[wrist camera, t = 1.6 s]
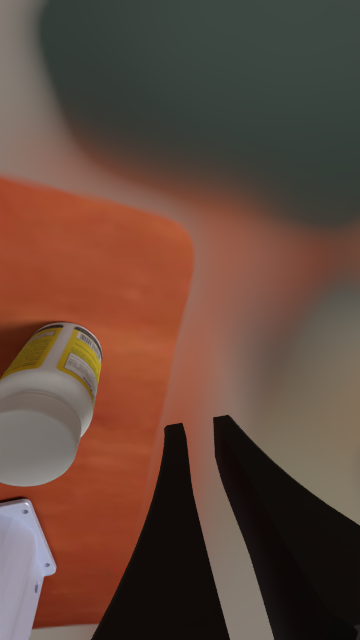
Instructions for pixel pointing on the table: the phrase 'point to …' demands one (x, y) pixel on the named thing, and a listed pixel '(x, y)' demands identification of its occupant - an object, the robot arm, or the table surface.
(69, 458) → the supplement bottle
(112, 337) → the table surface
